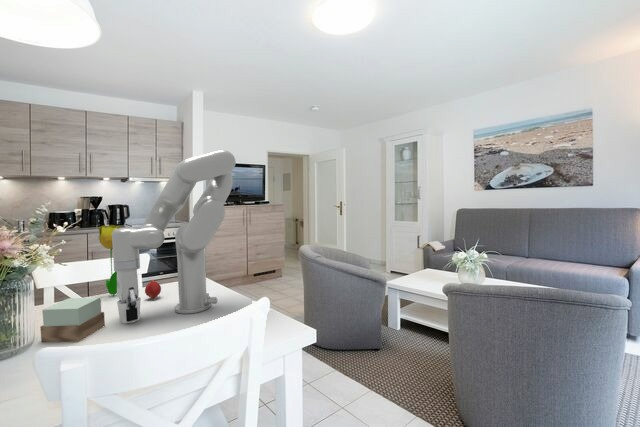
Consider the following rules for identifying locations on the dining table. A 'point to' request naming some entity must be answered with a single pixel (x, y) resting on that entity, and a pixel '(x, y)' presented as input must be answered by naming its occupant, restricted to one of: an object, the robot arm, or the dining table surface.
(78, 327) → the tower base block
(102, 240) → the flower
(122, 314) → the white cup
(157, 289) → the onion
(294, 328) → the dining table surface
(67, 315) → the tower top block
